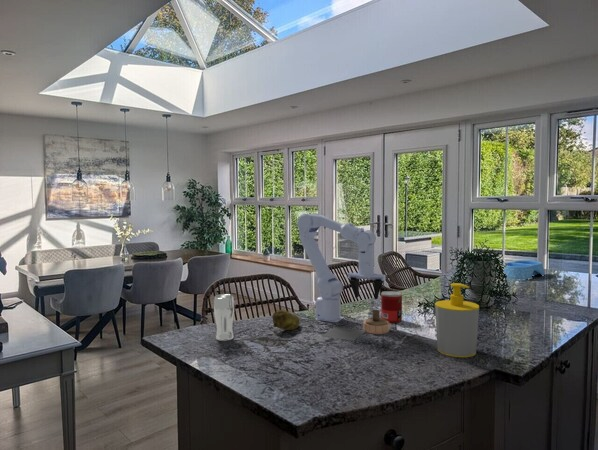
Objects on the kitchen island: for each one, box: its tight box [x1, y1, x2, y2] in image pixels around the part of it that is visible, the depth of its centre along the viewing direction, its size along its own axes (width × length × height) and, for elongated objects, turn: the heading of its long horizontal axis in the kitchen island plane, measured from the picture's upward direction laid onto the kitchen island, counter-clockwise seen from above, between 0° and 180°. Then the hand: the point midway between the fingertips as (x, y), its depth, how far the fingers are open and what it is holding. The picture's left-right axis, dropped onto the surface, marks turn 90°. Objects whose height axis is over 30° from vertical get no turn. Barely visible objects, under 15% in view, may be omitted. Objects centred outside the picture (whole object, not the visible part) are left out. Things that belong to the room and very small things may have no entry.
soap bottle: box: [434, 282, 480, 358], centre depth 135 cm, size 13×13×21 cm
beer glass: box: [213, 293, 235, 342], centre depth 151 cm, size 7×7×15 cm
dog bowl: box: [503, 260, 546, 280], centre depth 264 cm, size 34×19×8 cm, turn 126°
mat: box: [321, 326, 367, 342], centre depth 153 cm, size 12×12×1 cm
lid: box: [364, 309, 387, 326], centre depth 156 cm, size 8×8×4 cm
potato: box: [271, 309, 300, 331], centre depth 160 cm, size 8×13×8 cm, turn 127°
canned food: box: [380, 290, 403, 324], centre depth 170 cm, size 8×8×11 cm
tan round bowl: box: [362, 320, 391, 335], centre depth 157 cm, size 9×9×3 cm
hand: (366, 298), depth 164 cm, fingers open, 7 cm apart
